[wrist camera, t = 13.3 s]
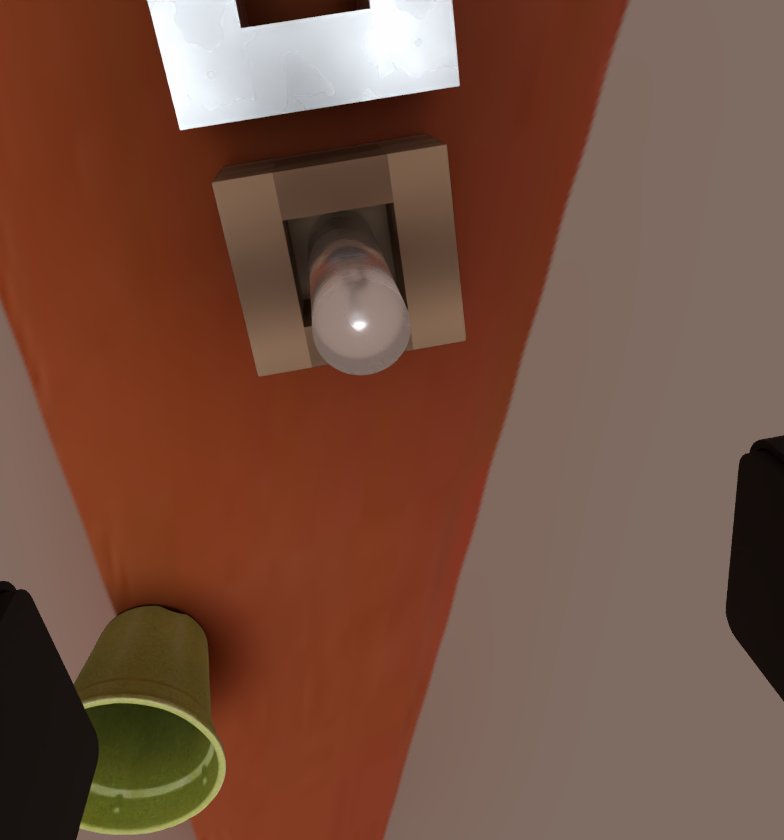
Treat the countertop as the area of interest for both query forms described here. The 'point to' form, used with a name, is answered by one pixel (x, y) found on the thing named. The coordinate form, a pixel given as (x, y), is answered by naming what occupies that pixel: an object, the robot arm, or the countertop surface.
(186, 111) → the socket block
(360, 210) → the frame
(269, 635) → the countertop surface
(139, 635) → the plant pot
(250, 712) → the countertop surface
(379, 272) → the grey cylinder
